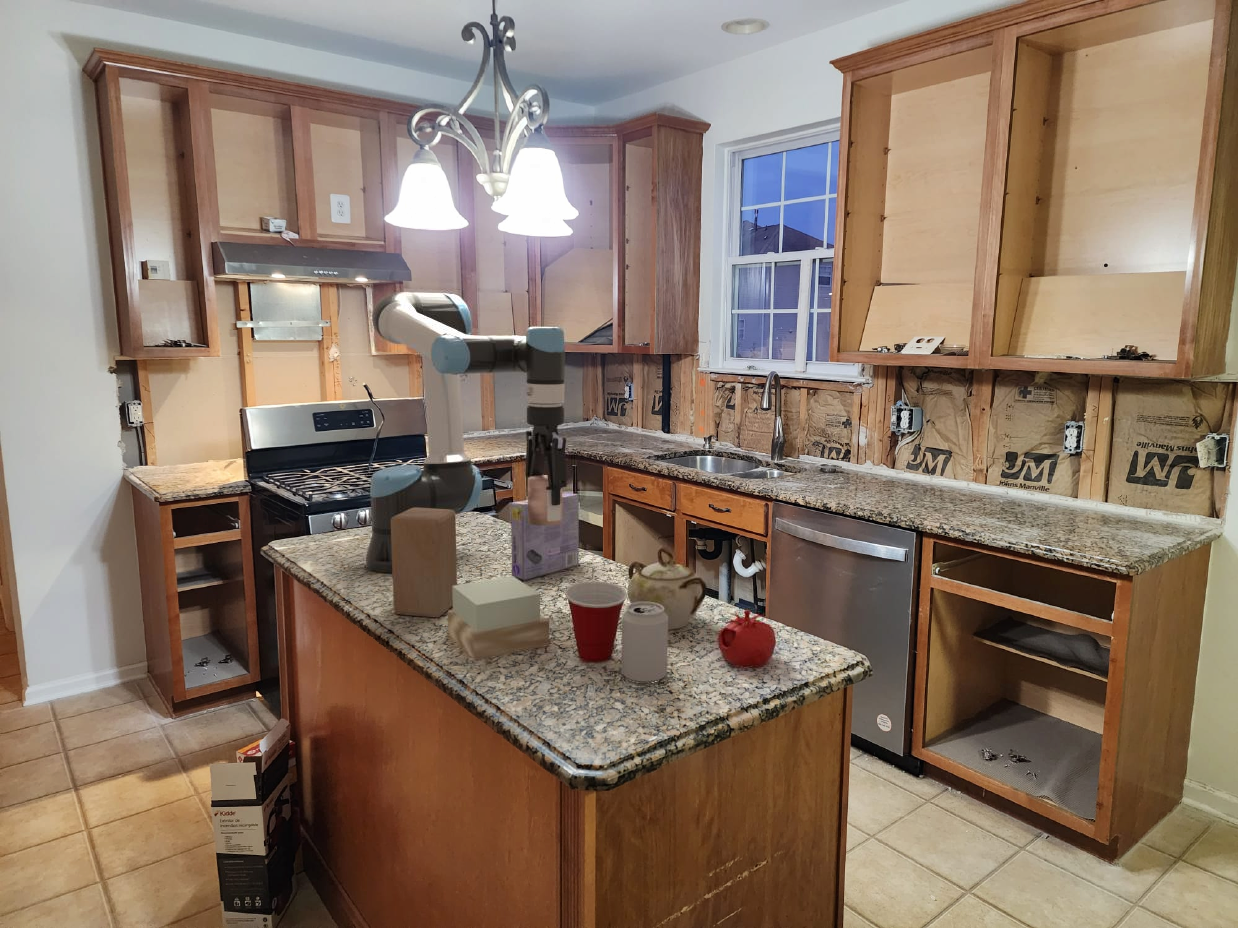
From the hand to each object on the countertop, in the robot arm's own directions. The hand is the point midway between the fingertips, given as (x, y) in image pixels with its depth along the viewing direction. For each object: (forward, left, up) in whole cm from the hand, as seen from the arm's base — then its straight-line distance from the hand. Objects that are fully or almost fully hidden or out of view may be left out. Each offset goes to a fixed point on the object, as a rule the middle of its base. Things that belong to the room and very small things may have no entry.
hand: (545, 516), depth 165 cm
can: (+41, -2, -19) cm, 45 cm away
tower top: (+15, -17, -14) cm, 26 cm away
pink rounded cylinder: (0, 0, -1) cm, 1 cm away
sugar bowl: (+22, +15, -19) cm, 33 cm away
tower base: (+14, -17, -19) cm, 29 cm away
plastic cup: (+30, -5, -19) cm, 36 cm away
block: (-8, -23, -19) cm, 30 cm away
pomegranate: (+44, +17, -19) cm, 51 cm away
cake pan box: (-20, +10, -19) cm, 29 cm away
